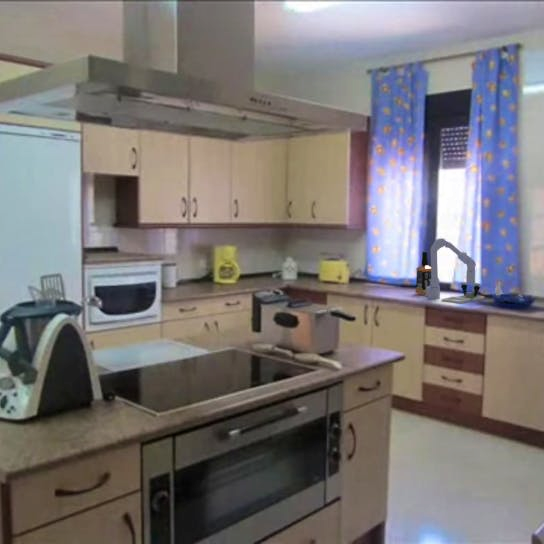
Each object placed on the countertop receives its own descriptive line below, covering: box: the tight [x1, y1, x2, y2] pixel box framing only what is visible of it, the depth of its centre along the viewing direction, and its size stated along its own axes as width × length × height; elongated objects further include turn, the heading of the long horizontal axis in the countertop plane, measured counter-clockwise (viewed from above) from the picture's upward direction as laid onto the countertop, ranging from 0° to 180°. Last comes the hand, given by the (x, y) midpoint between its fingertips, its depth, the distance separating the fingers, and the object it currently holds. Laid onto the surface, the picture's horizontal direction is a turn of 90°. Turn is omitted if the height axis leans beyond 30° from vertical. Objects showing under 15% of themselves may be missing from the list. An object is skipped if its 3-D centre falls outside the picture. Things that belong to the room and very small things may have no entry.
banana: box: [494, 280, 523, 297], centre depth 409 cm, size 5×19×15 cm, turn 50°
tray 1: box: [441, 296, 471, 304], centre depth 413 cm, size 14×14×2 cm
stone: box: [465, 291, 475, 299], centre depth 420 cm, size 4×4×4 cm
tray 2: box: [457, 294, 485, 302], centre depth 421 cm, size 14×14×2 cm
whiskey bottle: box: [414, 251, 431, 296], centre depth 450 cm, size 10×10×32 cm
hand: (470, 296), depth 421 cm, fingers open, 7 cm apart
